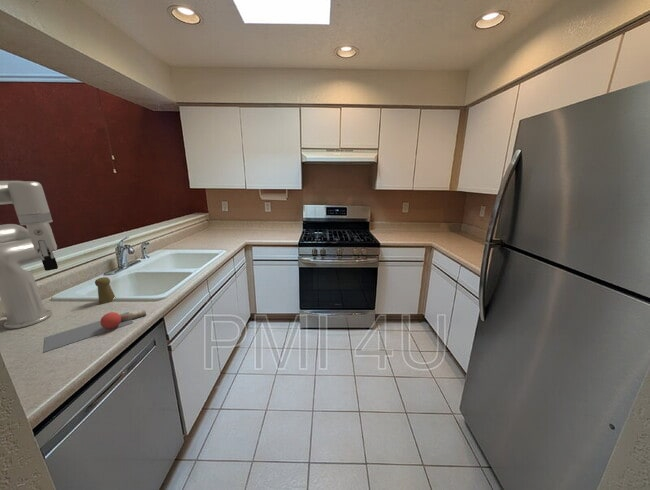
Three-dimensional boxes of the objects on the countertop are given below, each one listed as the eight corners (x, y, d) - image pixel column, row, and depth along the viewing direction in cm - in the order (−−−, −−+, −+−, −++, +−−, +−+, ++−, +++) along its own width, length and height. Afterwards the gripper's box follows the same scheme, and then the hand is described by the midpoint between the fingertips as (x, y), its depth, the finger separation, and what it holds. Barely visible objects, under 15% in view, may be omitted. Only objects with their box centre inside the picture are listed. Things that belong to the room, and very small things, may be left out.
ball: (124, 324, 99) (105, 327, 97) (123, 309, 99) (104, 311, 97) (118, 329, 94) (97, 332, 91) (117, 313, 94) (96, 315, 91)
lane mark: (43, 352, 83) (43, 352, 83) (45, 337, 90) (45, 337, 90) (133, 322, 99) (133, 322, 99) (128, 312, 107) (128, 311, 107)
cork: (119, 297, 120) (113, 275, 117) (109, 303, 114) (103, 280, 111) (106, 297, 120) (100, 275, 117) (95, 303, 114) (88, 281, 111)
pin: (118, 317, 98) (145, 310, 103) (118, 315, 100) (144, 308, 105) (120, 323, 99) (146, 315, 104) (120, 320, 101) (146, 313, 106)
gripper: (50, 220, 84) (66, 272, 89) (52, 215, 94) (66, 262, 99) (16, 223, 79) (34, 278, 84) (21, 217, 89) (37, 266, 94)
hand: (51, 269), depth 91 cm, fingers closed
